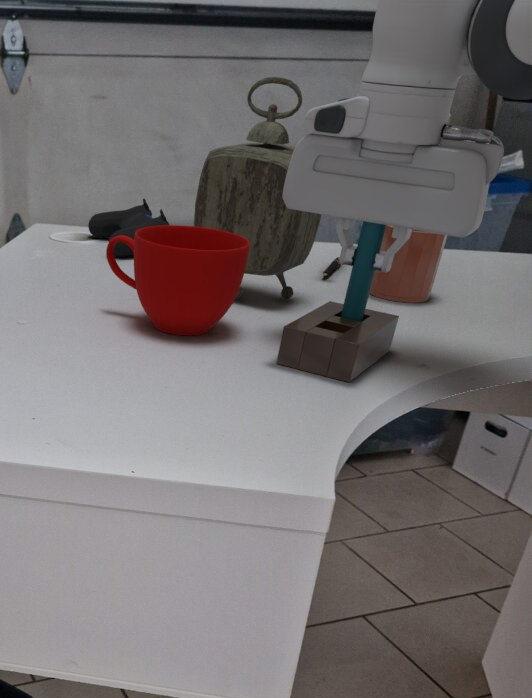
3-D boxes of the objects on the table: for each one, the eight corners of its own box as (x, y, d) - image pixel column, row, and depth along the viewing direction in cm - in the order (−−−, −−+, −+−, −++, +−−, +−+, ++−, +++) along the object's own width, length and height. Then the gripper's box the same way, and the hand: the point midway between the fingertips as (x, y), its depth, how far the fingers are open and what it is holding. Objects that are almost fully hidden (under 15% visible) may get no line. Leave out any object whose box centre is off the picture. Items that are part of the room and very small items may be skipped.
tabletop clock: (304, 300, 112) (348, 82, 97) (277, 313, 105) (321, 83, 91) (208, 279, 118) (237, 72, 104) (178, 291, 112) (204, 72, 97)
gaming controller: (124, 276, 126) (181, 240, 125) (107, 241, 123) (166, 205, 122) (97, 250, 139) (149, 218, 138) (82, 219, 136) (135, 185, 135)
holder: (389, 350, 95) (399, 315, 93) (349, 382, 86) (359, 344, 83) (322, 335, 99) (329, 300, 97) (276, 363, 89) (283, 326, 87)
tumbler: (435, 294, 119) (455, 227, 113) (419, 306, 113) (439, 235, 108) (377, 283, 122) (394, 217, 117) (359, 294, 116) (376, 225, 111)
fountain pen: (326, 281, 121) (328, 270, 120) (318, 280, 122) (320, 269, 121) (343, 263, 132) (346, 253, 131) (336, 261, 132) (338, 251, 132)
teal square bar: (357, 351, 95) (390, 218, 87) (350, 356, 93) (383, 221, 85) (337, 346, 96) (368, 215, 88) (329, 351, 94) (361, 217, 86)
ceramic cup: (126, 299, 107) (133, 215, 101) (250, 325, 101) (266, 237, 95) (78, 322, 97) (83, 231, 91) (212, 352, 91) (227, 256, 85)
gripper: (517, 130, 79) (469, 281, 87) (314, 108, 88) (287, 246, 96) (503, 133, 75) (455, 292, 82) (291, 110, 83) (265, 255, 91)
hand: (363, 267), depth 89 cm, fingers closed on teal square bar, 2 cm apart
